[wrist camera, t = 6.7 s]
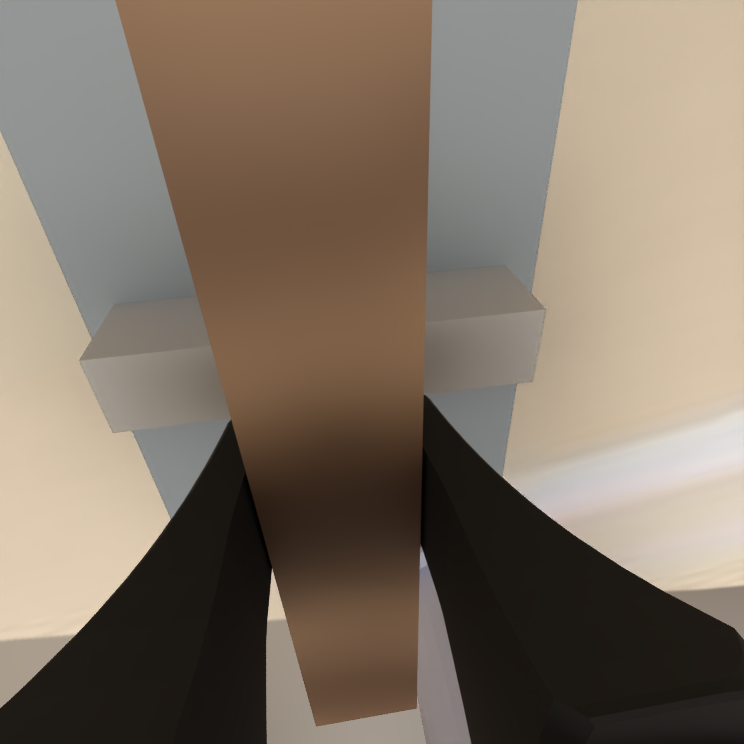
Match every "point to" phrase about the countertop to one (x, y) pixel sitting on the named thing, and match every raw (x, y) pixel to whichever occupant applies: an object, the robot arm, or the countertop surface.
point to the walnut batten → (311, 297)
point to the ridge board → (165, 248)
